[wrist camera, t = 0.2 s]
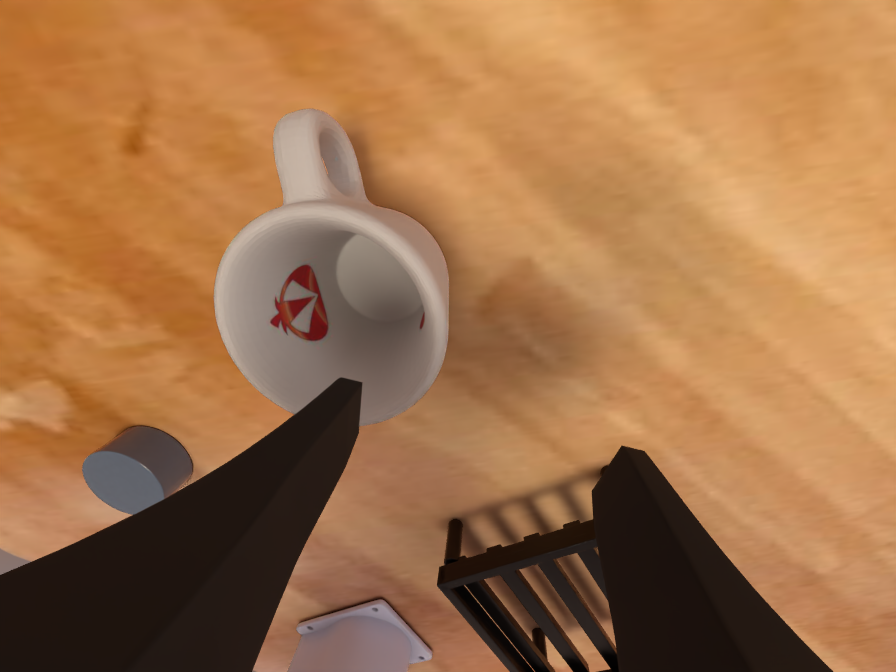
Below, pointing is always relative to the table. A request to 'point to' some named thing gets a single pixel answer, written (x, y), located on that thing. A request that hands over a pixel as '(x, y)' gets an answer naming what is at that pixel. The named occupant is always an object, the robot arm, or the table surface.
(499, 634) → the rack
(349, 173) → the cup
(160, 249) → the table surface
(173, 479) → the glossy blue puck
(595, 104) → the table surface
